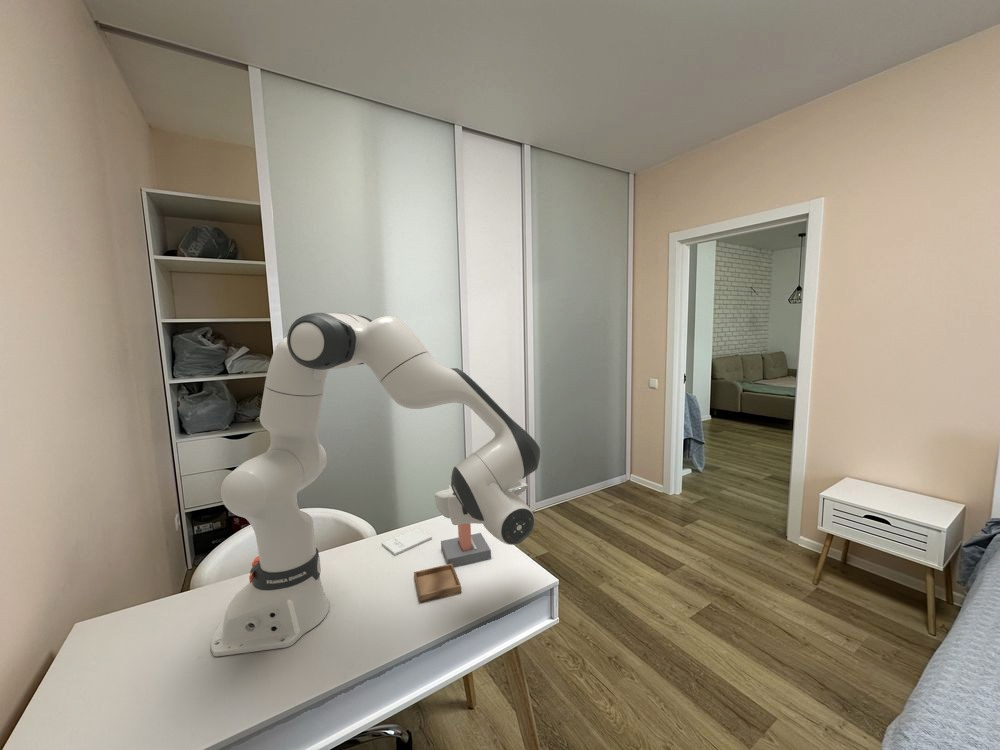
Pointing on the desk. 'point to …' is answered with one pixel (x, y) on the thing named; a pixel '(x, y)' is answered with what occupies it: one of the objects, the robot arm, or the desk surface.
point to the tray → (436, 583)
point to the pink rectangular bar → (464, 537)
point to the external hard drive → (406, 541)
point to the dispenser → (460, 558)
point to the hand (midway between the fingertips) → (469, 483)
